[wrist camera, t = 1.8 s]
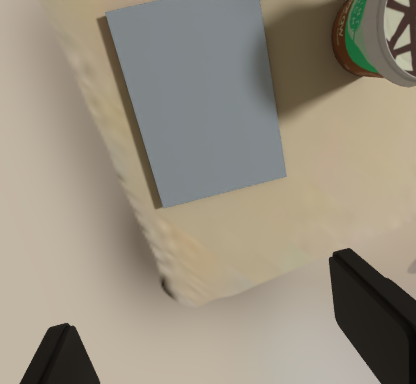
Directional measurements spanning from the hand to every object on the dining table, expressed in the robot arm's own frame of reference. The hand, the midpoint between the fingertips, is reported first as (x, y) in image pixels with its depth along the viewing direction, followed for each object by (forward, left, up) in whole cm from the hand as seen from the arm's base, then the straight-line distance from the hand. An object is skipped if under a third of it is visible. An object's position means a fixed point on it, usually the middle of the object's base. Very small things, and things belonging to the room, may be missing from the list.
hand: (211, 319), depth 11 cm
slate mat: (-6, +4, -28) cm, 29 cm away
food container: (-10, +22, -28) cm, 37 cm away
